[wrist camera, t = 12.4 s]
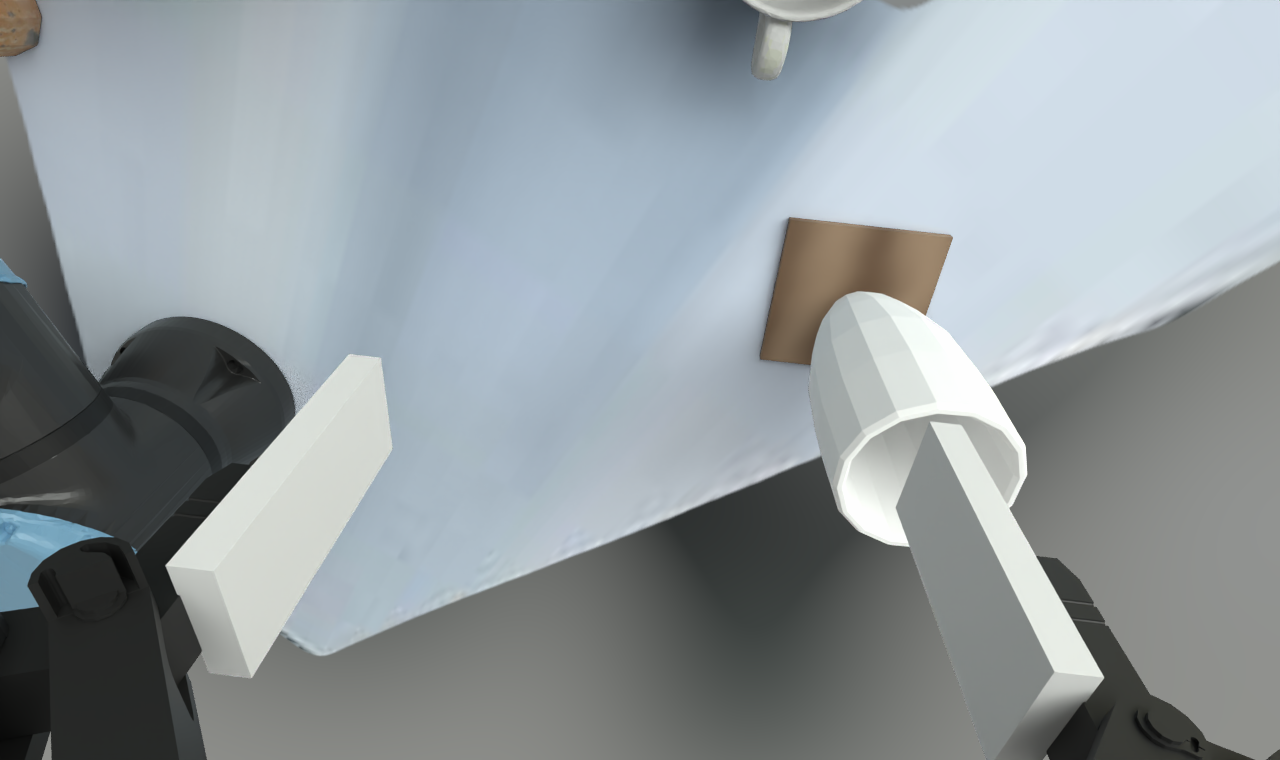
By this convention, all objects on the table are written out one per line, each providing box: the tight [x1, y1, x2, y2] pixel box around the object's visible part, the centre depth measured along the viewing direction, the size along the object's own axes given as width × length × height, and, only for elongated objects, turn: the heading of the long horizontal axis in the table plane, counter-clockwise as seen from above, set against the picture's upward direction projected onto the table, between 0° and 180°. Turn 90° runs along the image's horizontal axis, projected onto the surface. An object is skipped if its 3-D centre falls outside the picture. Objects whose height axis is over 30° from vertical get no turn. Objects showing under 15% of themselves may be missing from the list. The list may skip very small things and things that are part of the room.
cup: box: [808, 291, 1027, 547], centre depth 44 cm, size 10×10×22 cm
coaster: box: [760, 217, 953, 365], centre depth 54 cm, size 12×12×1 cm
